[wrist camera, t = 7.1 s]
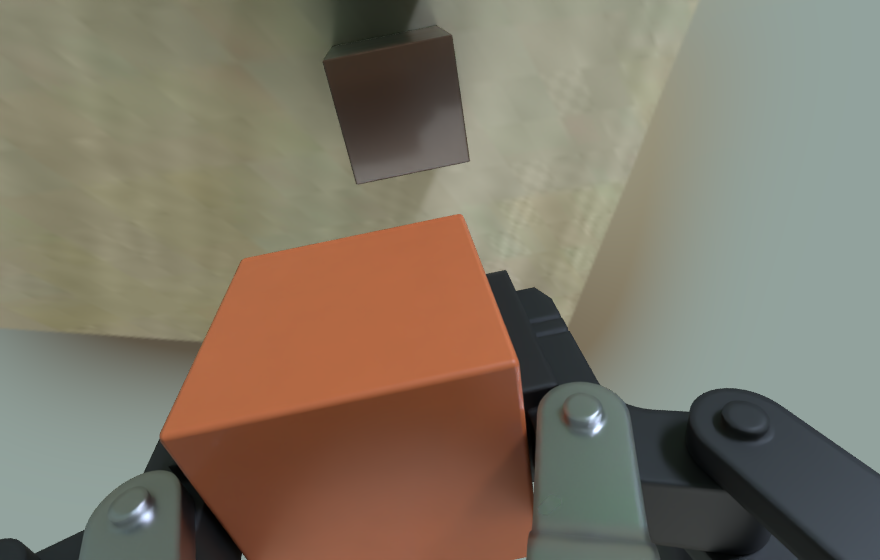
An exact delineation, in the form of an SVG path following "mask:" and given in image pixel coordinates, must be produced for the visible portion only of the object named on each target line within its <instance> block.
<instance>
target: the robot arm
mask: <svg viewBox="0 0 880 560" xmlns="http://www.w3.org/2000/svg"><path fill="white" fill-rule="evenodd" d="M486 277H487V279H488V282H489V284H490V287H491V290H492V292H493V295H494V297H495V300H496V303H497V305H498V308H499V310H500V313H501V316H502V318H503V321H504V324H505V326H506V329H507V331H508V334H509V337H510V339H511V342H512V344H513V347H514V350H515V352H516V355H517V357H518V360H519V364H520V373H521V382H522V392H523V401H524V410H525V419H526V429H527V438H528V447H529V456H530V466H531V475H532V482H534V500H533V521H532V530H531V531H530V532H529V535H528V543H527V556H526V560H880V474H879V473H877V472H876V471H874V470H873V469H871V468H870V467H869V466H867V465H866V464H864V463H863V462H861V461H860V460H859V459H857V458H856V457H854V456H853V455H851V454H850V453H848V452H847V451H846V450H844V449H843V448H841V447H840V446H838V445H837V444H835V443H834V442H833V441H831V440H830V439H828V438H827V437H825V436H824V435H822V434H821V433H819V432H818V431H817V430H815V429H814V428H813V427H811V426H810V425H808V424H807V423H805V422H804V421H802V420H801V419H799V418H798V417H797V416H795V415H793V414H792V413H791V412H789V411H788V410H787V409H785V408H784V407H782V406H781V405H779V404H778V403H776V402H774V401H773V400H771V399H769V398H767V397H765V396H763V395H760V394H757V393H754V392H751V391H747V390H741V389H734V388H724V389H715V390H711V391H708V392H706V393H703V394H702V395H700V396H699V397H697V399H696V400H694V402H693V403H692V405H691V408H690V411H689V412H683V411H666V410H651V409H643V408H639V407H634V406H631V405H628V404H626V403H624V401H623V400H622V399H621V398H620V397H619V396H618V395H617V394H616V393H614V392H613V391H611V390H610V389H607V388H605V387H603V386H601V385H600V384H599V383H598V381H597V379H596V377H595V376H594V374H593V372H592V370H591V368H590V367H589V365H588V363H587V361H586V359H585V358H584V356H583V354H582V352H581V351H580V349H579V347H578V345H577V343H576V342H575V340H574V338H573V336H572V334H571V333H570V331H568V327H567V326H566V324H565V322H564V320H563V318H561V316H560V313H559V311H558V310H557V308H556V306H555V304H554V302H553V301H552V299H551V298H550V297H548V296H547V295H545V294H544V293H542V292H541V291H539V290H538V289H536V288H535V287H533V288H529V289H524V290H519V291H516V290H515V288H514V286H513V284H512V282H511V279H510V277H509V275H508V273H507V271H506V270H503V271H498V272H494V273H489V274H486ZM241 556H242V552H241V551H240V549H239V548H238V547H237V545H236V544H235V543H234V541H233V540H232V538H231V537H230V536H229V534H228V533H227V532H226V530H225V529H224V528H223V526H222V525H221V523H220V522H219V521H218V519H217V518H216V517H215V515H214V514H213V513H212V511H211V510H210V509H209V507H208V506H207V504H206V503H205V502H204V500H203V499H202V498H201V496H200V495H199V494H198V492H197V491H196V489H195V488H194V487H193V485H192V484H191V483H190V481H189V480H188V479H187V477H186V476H185V474H184V473H183V472H182V470H181V469H180V468H179V466H178V465H177V464H176V462H175V461H174V459H173V458H172V457H171V455H170V454H169V453H168V451H167V450H166V449H165V447H164V446H163V445H162V443H161V442H160V439H159V441H158V443H157V445H156V447H155V450H154V452H153V454H152V456H151V458H150V461H149V463H148V465H147V467H146V469H145V471H144V473H143V474H141V475H138V476H136V477H134V478H132V479H130V480H128V481H127V482H125V483H123V484H122V485H120V486H119V487H118V488H116V489H115V490H113V491H112V492H111V493H110V494H109V495H108V496H107V497H106V498H105V499H104V500H103V501H102V502H101V503H100V504H99V505H98V507H97V508H96V509H95V510H94V512H93V514H92V515H91V517H90V518H89V520H88V523H87V525H86V528H85V530H83V531H81V532H79V533H77V534H75V535H73V536H71V537H69V538H66V539H64V540H62V541H60V542H58V543H56V544H54V545H52V546H50V547H48V548H45V549H43V550H41V551H39V552H37V553H33V552H32V551H31V550H30V549H29V548H28V547H26V546H25V545H24V544H23V543H22V542H20V541H19V540H17V539H12V538H8V539H0V560H241Z"/></svg>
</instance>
